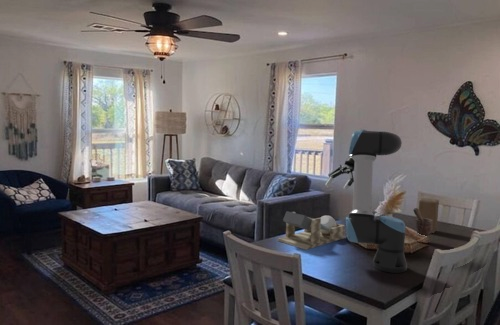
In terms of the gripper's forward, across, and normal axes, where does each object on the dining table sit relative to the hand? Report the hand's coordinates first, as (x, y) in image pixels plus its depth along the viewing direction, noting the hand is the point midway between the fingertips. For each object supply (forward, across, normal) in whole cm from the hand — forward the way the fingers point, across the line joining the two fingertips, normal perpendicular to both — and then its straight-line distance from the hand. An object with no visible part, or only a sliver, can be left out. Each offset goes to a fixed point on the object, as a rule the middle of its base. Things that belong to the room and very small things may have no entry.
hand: (335, 187), depth 236 cm
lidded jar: (+17, +2, -8) cm, 19 cm away
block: (-23, -22, -64) cm, 72 cm away
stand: (+30, +3, -11) cm, 32 cm away
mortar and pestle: (-4, -34, -46) cm, 57 cm away
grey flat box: (+31, +3, 0) cm, 31 cm away
